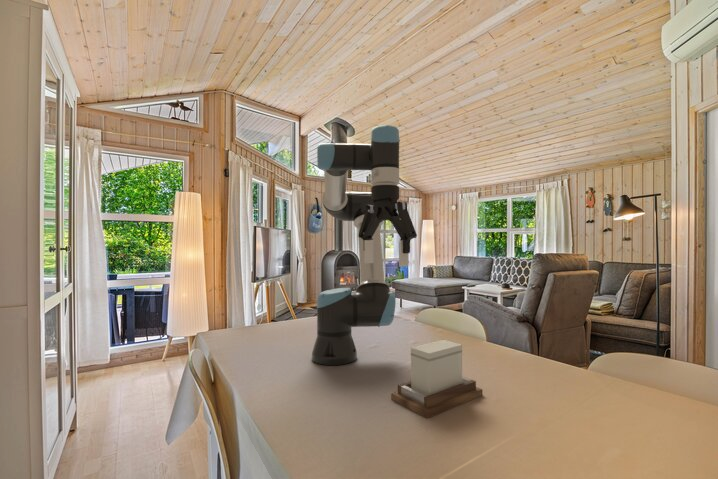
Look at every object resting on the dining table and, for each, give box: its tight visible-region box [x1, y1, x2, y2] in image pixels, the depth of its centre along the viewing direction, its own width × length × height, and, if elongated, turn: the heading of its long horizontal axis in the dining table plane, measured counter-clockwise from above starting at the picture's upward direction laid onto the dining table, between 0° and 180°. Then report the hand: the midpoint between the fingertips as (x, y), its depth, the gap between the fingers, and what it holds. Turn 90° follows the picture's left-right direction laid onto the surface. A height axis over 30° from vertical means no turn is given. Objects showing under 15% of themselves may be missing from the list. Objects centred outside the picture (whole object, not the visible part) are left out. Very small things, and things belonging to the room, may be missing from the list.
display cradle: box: [390, 375, 484, 419], centre depth 89 cm, size 12×20×4 cm, turn 126°
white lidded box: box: [410, 339, 463, 396], centre depth 89 cm, size 6×12×11 cm, turn 126°
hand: (385, 264), depth 95 cm, fingers open, 13 cm apart
